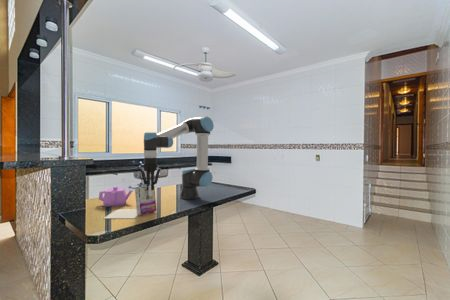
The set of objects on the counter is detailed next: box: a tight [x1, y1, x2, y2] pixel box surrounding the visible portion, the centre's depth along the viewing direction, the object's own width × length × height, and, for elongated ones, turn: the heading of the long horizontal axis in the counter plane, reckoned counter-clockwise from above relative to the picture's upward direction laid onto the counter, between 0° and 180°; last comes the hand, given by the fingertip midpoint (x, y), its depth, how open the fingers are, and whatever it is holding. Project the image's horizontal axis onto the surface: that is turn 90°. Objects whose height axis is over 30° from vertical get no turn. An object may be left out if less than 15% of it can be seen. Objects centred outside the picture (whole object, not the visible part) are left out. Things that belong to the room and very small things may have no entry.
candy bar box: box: [134, 185, 157, 216], centre depth 140 cm, size 11×5×16 cm, turn 143°
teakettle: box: [98, 186, 133, 207], centre depth 161 cm, size 17×17×12 cm
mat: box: [103, 208, 139, 220], centre depth 138 cm, size 18×18×1 cm
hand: (150, 195), depth 138 cm, fingers closed
